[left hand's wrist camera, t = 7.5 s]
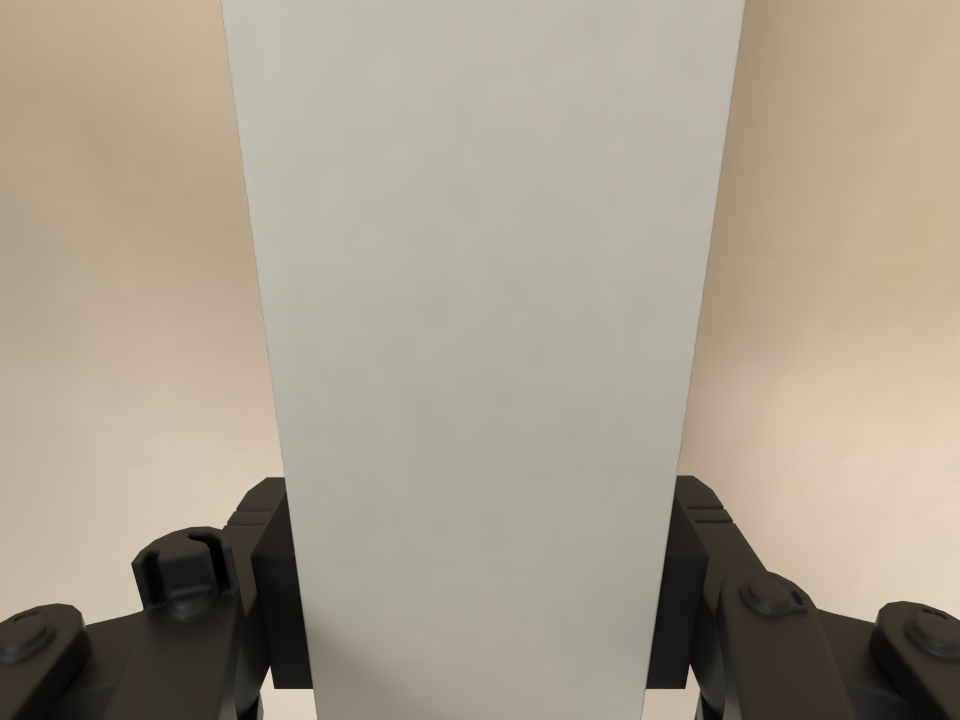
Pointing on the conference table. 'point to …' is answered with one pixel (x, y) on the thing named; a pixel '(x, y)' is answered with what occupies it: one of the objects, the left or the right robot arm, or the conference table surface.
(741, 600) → the left robot arm
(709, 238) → the bar
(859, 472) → the conference table surface
